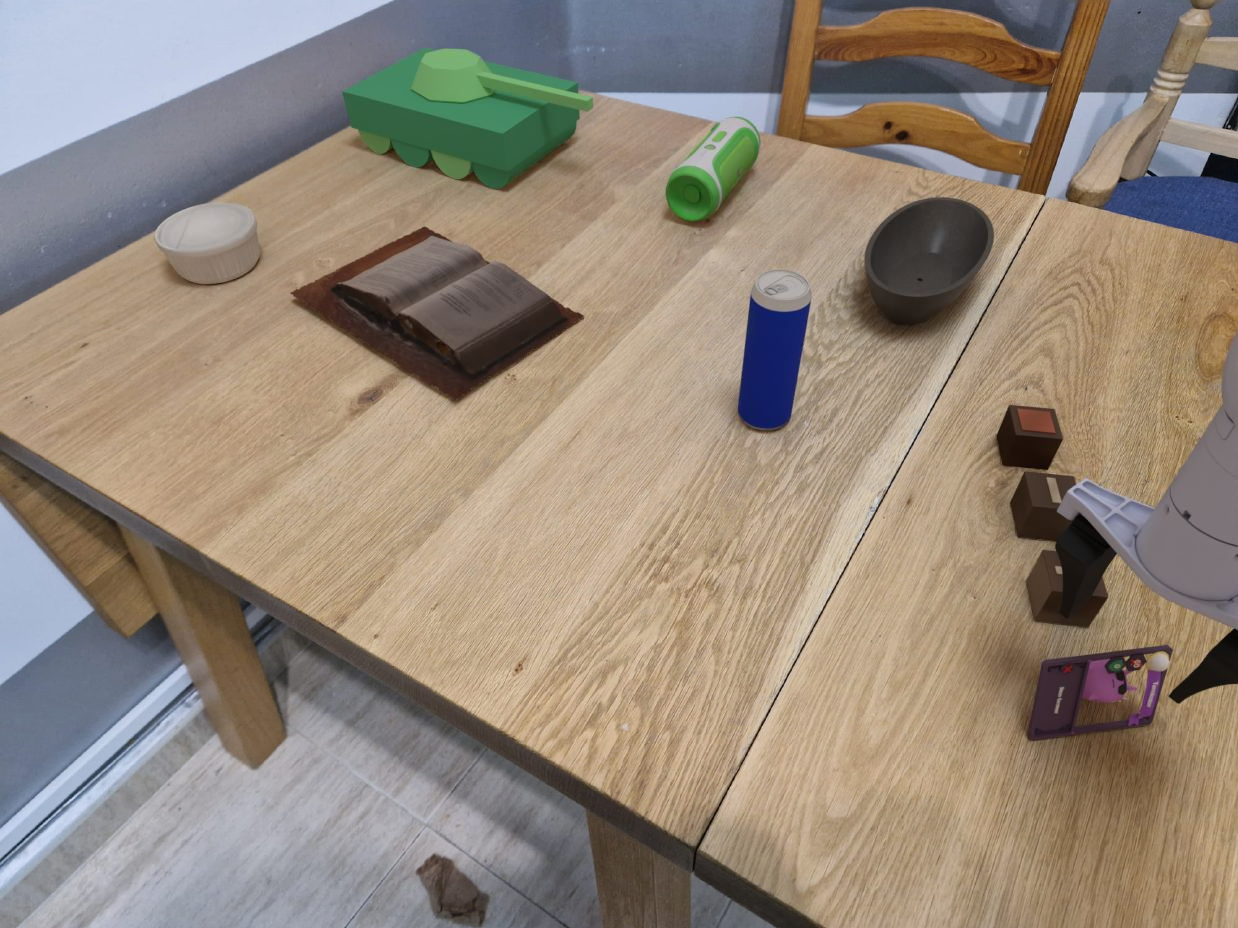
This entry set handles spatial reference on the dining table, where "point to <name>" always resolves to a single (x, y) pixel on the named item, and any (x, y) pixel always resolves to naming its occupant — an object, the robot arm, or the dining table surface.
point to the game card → (1094, 689)
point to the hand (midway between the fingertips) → (1124, 648)
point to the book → (439, 309)
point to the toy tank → (465, 114)
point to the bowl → (926, 257)
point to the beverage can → (773, 348)
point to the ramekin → (210, 242)
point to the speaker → (713, 169)
